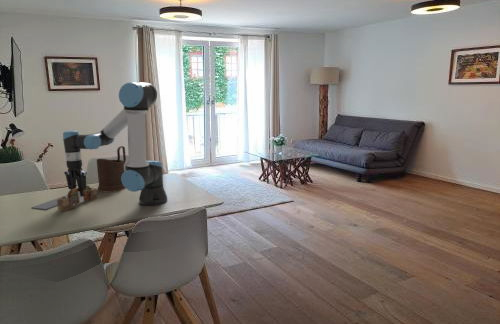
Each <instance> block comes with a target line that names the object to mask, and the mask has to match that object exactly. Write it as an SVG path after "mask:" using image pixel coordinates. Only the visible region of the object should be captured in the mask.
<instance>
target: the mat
mask: <svg viewBox="0 0 500 324" xmlns="http://www.w3.org/2000/svg"><path fill="white" fill-rule="evenodd" d="M67 195H68V194H65V195H63V196H60V197H57V198H55V199H52V200H49V201H46V202H42V203H40V204H37V205H34V206H32V207H31V209H35V210H41V211H42V210H44V211H47V210H51V209H53V208H56V207H58V205H57V199H59V198H61V197H65V198H68V196H67Z"/></svg>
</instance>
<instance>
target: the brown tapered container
mask: <svg viewBox="0 0 500 324" xmlns="http://www.w3.org/2000/svg"><path fill="white" fill-rule="evenodd" d="M121 149H122V155H123V156H122V159H123V160H122V159H121V154H120V150H121ZM116 152H117V159H106V158H97V159H96V167H97V169H96V170H97V178H98V187H97V188H96V189H97V191H98V192H101V191H102V192H101V193H103V192H104V193H111V192H119V191H123V190H125V189H126V187H124V186H123V184H122V181H121V176H122V174H123V173H124V171H125V164H126V160H127V158H126V148H125V146H123V145H121V146H118V147H117V149H116ZM126 190H127V189H126Z"/></svg>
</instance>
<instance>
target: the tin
mask: <svg viewBox="0 0 500 324" xmlns="http://www.w3.org/2000/svg"><path fill="white" fill-rule="evenodd" d="M91 188H92V187H90V186H89V185H87V184H86V189H85V190H83V191H84V196H83V197H84V202H85V201H88V199H89V198H90V193H89V191H90V190H91ZM78 190H79V189H78V186H76V188H74V189H69V191H68V192H67V194H66V195H67V196H68V198H71V197H72V198H73V205H78V204H80V203H79V197H78Z"/></svg>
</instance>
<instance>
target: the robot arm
mask: <svg viewBox="0 0 500 324" xmlns="http://www.w3.org/2000/svg"><path fill="white" fill-rule="evenodd" d="M157 98H158V91H157V89H156V87H155V85H153V84H152V83H150V82H145V81H143V82H142V81H141V82H140V81H138V82H137V81H129V82H126V83H124V84H123V85H121V87H120V89H119V91H118V99H119V101H120V103H121V104H122V105H123V109H122V110H120V112H118V114H116V116H115V117H114V118H113V119H112V120H110V121H109V123H107V124H106V125H105V126H104V127H103V128H102V129H101V130H100V131H99V132H94V133H89V134H80V133H79V131H78V130H65V131H64V132H62V141H63V146H64V154H65V160H66V162H65V163H66V167H67V171H64V172H63V173H64V175H65V178H66V183H67V187H68V190H71V189H74V188H77V187H78V189H79V190H78V197H79V203H78V204H81V203H84V202H85V201H84V197H83V196H84V191H83V190H85V189H86V185H87V175H88V174H87V171H84V170H83V161H82V153H81V150H97V149H99V147H104V146H108V145H110V144H113V143H114V141H115V137H117V136H118V135H119V134H120V133H121V132H122V131H124V129H125V128H126V127H127V150H128V151H127V156H128V157H127V158H128V161H127V162H125V164H124V173H123V174H122V176H121V181H122V184H123V186H124V187H126V190H128V191H130V192H132V193H133V192H139V191H140V194H139V197H138V199H139V200H138V202H139V204H140V205H142V206H159V205H161V204H165V203H166V202H168V195H167V193H166V190H165V187H164V178H163V175H164V174H163V164H162V161H160V160H147V136H146V135H147V134H146V133H147V132H146V131H147V130H146V128H147V127H146V124H147V123H146V122H147V120H146V114H147V112H149V108H151V107H152V106H153V104H155V102H156V101H157Z"/></svg>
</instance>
